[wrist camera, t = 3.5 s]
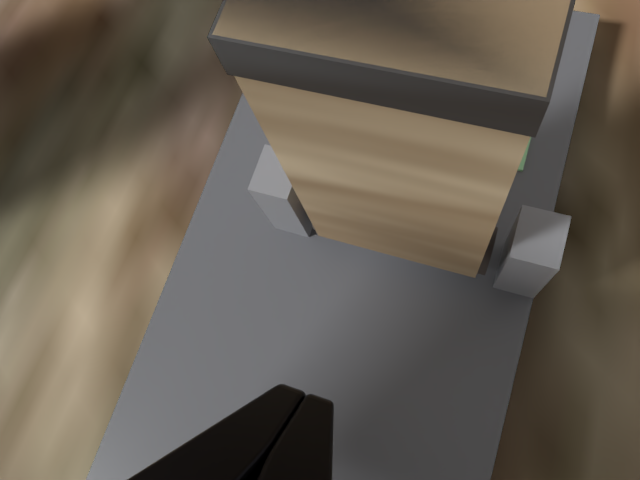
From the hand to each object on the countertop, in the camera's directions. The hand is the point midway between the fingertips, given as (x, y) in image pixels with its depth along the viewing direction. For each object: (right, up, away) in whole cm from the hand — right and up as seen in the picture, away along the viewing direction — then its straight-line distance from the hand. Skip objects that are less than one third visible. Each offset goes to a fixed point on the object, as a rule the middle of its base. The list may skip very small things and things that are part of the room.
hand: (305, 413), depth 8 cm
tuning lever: (+2, +3, +6) cm, 7 cm away
